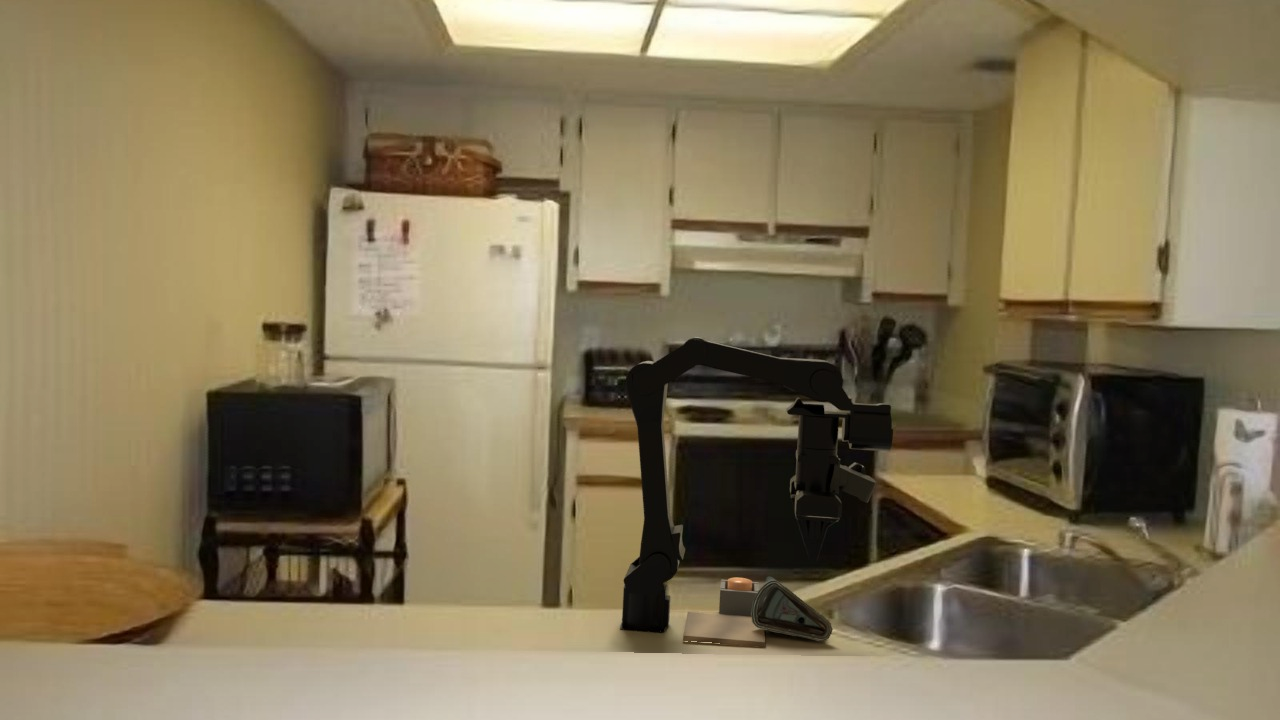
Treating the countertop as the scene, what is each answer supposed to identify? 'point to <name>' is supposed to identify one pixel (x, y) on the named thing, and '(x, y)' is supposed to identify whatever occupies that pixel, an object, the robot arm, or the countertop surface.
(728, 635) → the serving board
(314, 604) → the countertop surface
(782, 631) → the chocolate cake
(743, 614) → the housing
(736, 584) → the brown egg
